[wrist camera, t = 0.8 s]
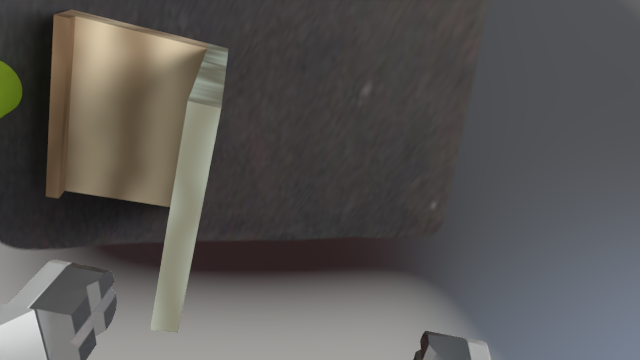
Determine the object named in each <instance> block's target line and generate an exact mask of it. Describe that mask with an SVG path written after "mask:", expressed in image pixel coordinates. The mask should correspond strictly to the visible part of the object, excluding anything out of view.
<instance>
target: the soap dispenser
mask: <svg viewBox="0 0 640 360" xmlns="http://www.w3.org/2000/svg"><path fill="white" fill-rule="evenodd" d="M21 98H22V85H21V82H20V79H19V78H18V76H17V74H16V73H15V72H14V71H13V69H12V68H10V67H9V66H8V65H7V64H5V63H4V62H2V61H0V118H1V117H3V116H4V115H6V114H7V113H9V112H10V111H12V110H13V109H15V108H16V107H17V106H18V104H19V103H20V101H21Z"/></svg>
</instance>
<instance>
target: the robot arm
mask: <svg viewBox="0 0 640 360" xmlns="http://www.w3.org/2000/svg"><path fill="white" fill-rule="evenodd" d="M113 283H114V277H113V272H111V271H108V270H103V269H99V268H94V267H90V266H85V265H80V264H76V263H70V262H65V261H61V260H56V259H54V260H51V261H49V262H47V263H46V264H45V266H43V268H42V269H41V270H40V271H39V272H38V273H37V274H36V275H35V276H34V277H33V278H32V279H31V280H30V281H29V282H28V283H27V284H26V285H25V286H24V287H23V288H22V289H21V291H19V292H18V294H16V295H15V297H14V298H13V299H12V300H11V301H10V302H9V303H8V304H3V303H1V304H0V360H86V359H87V358H88V356H89V355H90V353H91V352H92V350H93V349H94V347H95V346H96V338H95V336H96V335H98V334H100V333H102V332H103V331H105V330H106V329H107V328H108V326H109V325H110V323H111V321H112V319H113V316H114V314H115V311H116V304H117V298H116V294H115V293H114V291H113V290H112V289H111V288H110V287H111V286H112V285H113ZM420 345H421V350H419V351H417V352H416V353H415V356H414V359H413V360H491V358H490V354H489V350H488V346H487V344H486V343H485V342H483V341H478V340H472V339H467V338H462V337H457V336H451V335H446V334H440V333H435V332H429V331H425V332H424V333H423V335H422V337H421V340H420Z"/></svg>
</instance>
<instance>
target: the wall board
mask: <svg viewBox="0 0 640 360" xmlns="http://www.w3.org/2000/svg"><path fill="white" fill-rule="evenodd" d="M227 56H228V48H224V47H220V46H216V45H212V44H208V43H204V42H200V41H196V40H192V39H188V38H184V37H180V36H176V35H172V34H168V33H164V32H160V31H156V30H152V29H148V28H144V27H140V26H136V25H132V24H128V23H124V22H120V21H116V20H112V19H108V18H104V17H100V16H96V15H92V14H87V13H83V12H79V11H75V10H69V11H65V12H61V13H58V14H54V21H53V44H52V66H51V88H50V110H49V133H48V155H47V177H46V197H52V198H59V197H60V196H61V195H62V193H63V192H64V191H70V192H77V193H83V194H89V195H96V196H102V197H109V198H115V199H121V200H128V201H134V202H141V203H147V204H153V205H160V206H166V207H170V213H169V219H168V225H167V231H166V237H165V243H164V250H163V255H162V262H161V268H160V274H159V281H158V287H157V292H156V298H155V304H154V311H153V317H152V323H151V330H156V331H168V332H178V329H179V324H180V318H181V313H182V308H183V302H184V298H185V293H186V287H187V282H188V277H189V272H190V267H191V262H192V256H193V251H194V245H195V241H196V236H197V231H198V225H199V220H200V215H201V210H202V205H203V199H204V194H205V189H206V184H207V179H208V174H209V168H210V163H211V158H212V153H213V148H214V143H215V137H216V132H217V127H218V122H219V117H220V112H221V105H222V97H223V89H224V81H225V73H226V64H227Z"/></svg>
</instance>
